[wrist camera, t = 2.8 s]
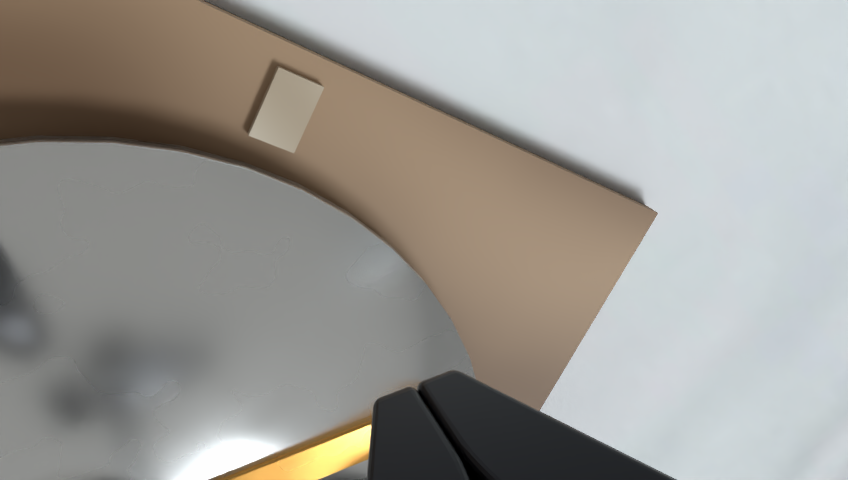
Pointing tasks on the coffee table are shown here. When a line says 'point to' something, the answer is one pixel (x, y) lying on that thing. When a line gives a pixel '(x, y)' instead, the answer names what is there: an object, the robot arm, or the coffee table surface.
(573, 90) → the coffee table surface
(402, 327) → the capstan dial
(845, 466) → the coffee table surface
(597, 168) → the coffee table surface
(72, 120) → the stand board
